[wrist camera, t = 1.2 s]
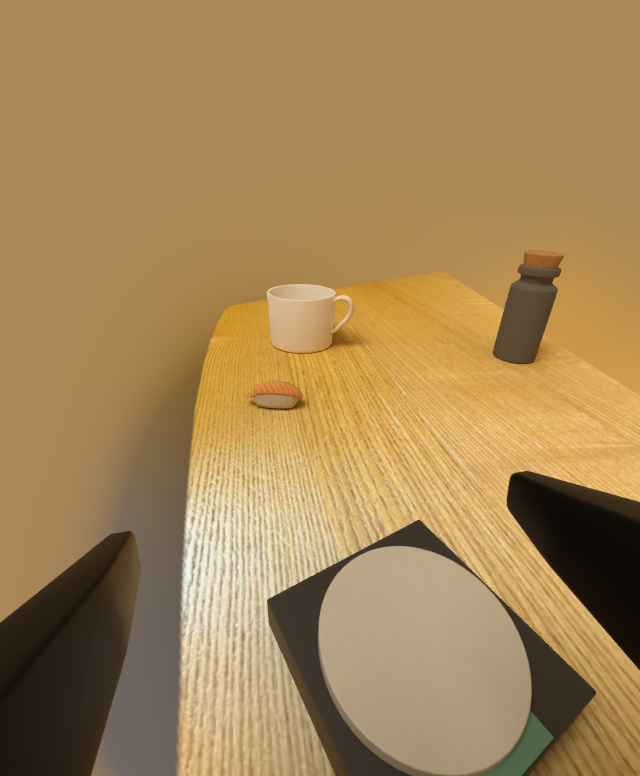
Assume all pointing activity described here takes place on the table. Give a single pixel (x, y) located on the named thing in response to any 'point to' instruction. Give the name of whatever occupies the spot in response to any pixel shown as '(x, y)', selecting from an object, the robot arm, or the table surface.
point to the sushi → (275, 394)
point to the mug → (304, 317)
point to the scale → (421, 666)
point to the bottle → (528, 307)
